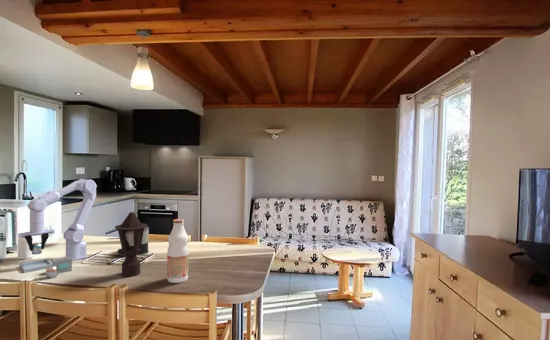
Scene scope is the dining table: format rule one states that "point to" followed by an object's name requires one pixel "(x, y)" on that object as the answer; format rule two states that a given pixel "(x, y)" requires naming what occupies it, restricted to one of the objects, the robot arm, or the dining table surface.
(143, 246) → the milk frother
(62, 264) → the wall unit
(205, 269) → the dining table surface
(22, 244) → the can
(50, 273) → the terracotta cartridge
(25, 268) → the tray
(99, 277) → the dining table surface
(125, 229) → the lantern
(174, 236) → the fruit juice
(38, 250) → the teal cartridge
